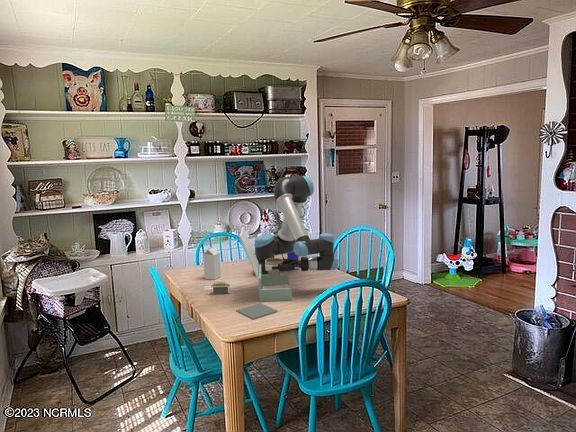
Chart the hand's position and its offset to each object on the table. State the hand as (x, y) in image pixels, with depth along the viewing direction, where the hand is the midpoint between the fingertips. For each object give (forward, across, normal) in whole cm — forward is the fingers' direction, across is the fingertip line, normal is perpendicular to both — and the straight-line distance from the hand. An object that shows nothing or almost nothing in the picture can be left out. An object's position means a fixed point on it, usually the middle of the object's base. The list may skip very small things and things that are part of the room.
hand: (265, 265), depth 231 cm
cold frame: (-5, 0, -15) cm, 16 cm away
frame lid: (+8, 0, +8) cm, 11 cm away
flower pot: (-5, 0, -6) cm, 8 cm away
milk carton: (+32, +32, -16) cm, 48 cm away
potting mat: (+5, -26, -15) cm, 31 cm away
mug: (-16, +60, -16) cm, 65 cm away
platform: (+24, +3, -16) cm, 29 cm away
